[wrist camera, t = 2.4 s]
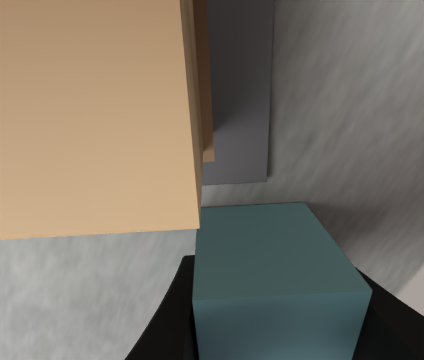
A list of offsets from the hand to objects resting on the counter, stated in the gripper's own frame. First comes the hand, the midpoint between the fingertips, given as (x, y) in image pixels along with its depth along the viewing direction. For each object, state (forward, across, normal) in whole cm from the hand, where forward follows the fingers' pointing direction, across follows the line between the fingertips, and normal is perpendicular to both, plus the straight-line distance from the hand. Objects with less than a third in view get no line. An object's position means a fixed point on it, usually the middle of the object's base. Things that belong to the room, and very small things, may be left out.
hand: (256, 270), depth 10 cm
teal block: (+1, 0, 0) cm, 1 cm away
